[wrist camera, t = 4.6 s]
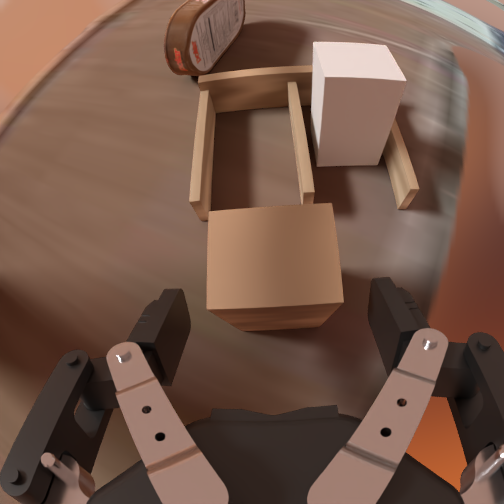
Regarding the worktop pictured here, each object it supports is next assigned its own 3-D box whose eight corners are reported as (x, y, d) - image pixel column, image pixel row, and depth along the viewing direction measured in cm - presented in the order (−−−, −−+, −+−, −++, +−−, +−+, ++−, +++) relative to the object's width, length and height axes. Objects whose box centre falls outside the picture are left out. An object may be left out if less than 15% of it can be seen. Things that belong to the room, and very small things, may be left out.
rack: (201, 221, 23) (184, 194, 19) (208, 107, 27) (198, 75, 23) (405, 209, 21) (424, 181, 17) (370, 98, 25) (377, 67, 21)
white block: (316, 166, 23) (324, 76, 15) (310, 129, 24) (313, 41, 16) (377, 165, 23) (406, 81, 14) (366, 128, 24) (385, 45, 15)
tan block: (242, 330, 20) (206, 309, 11) (241, 271, 21) (208, 211, 13) (319, 326, 19) (343, 302, 11) (315, 267, 21) (331, 202, 12)
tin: (231, 23, 32) (220, -28, 25) (253, 24, 32) (245, -29, 24) (175, 90, 28) (149, 28, 20) (201, 93, 28) (179, 25, 20)
